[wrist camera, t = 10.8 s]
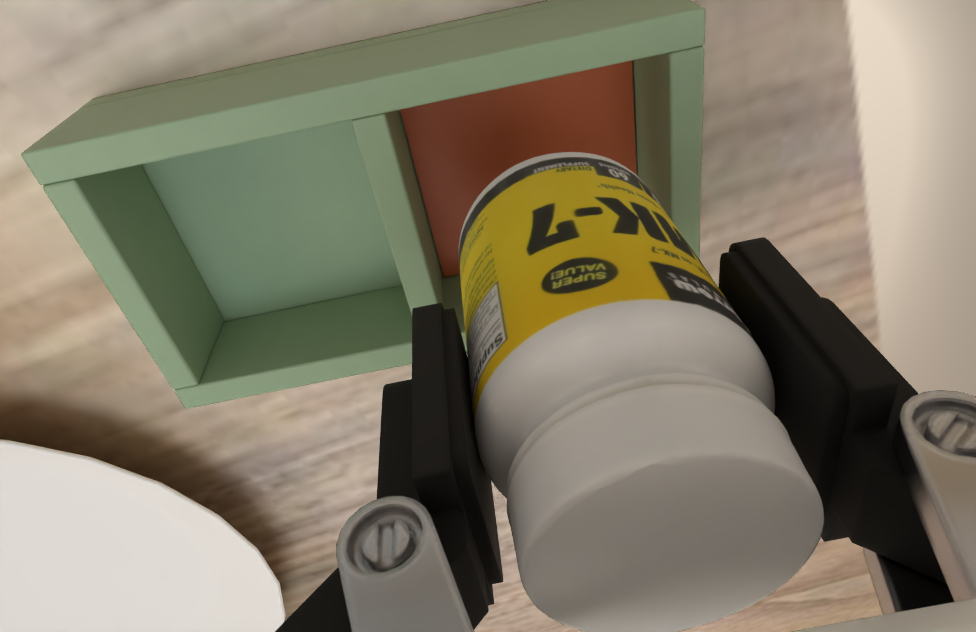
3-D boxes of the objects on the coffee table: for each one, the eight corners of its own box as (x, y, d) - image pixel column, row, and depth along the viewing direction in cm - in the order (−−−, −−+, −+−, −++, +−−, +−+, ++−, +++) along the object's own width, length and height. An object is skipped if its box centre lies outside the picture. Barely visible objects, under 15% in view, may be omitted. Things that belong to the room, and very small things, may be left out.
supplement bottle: (689, 164, 14) (942, 449, 7) (619, 333, 17) (759, 657, 10) (478, 126, 13) (546, 413, 6) (439, 310, 16) (458, 652, 9)
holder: (91, 98, 17) (18, 153, 14) (650, -22, 17) (706, 6, 14) (218, 329, 22) (185, 410, 19) (656, 240, 22) (699, 307, 19)
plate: (171, 342, 22) (150, 385, 20) (346, 639, 35) (342, 683, 33) (-400, 450, 23) (-471, 502, 21) (-26, 706, 35) (-50, 753, 33)
